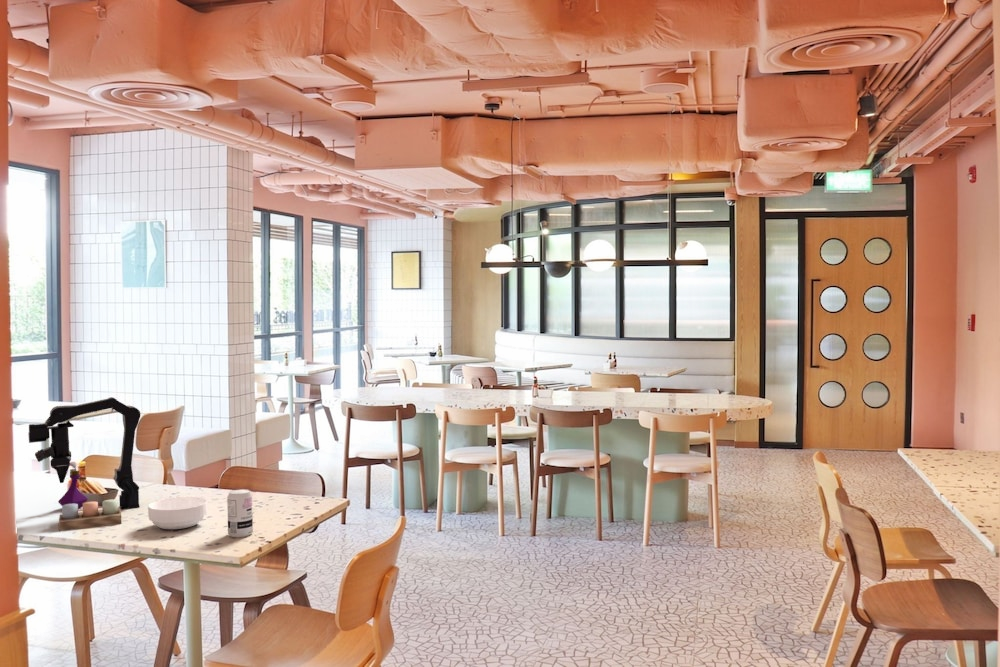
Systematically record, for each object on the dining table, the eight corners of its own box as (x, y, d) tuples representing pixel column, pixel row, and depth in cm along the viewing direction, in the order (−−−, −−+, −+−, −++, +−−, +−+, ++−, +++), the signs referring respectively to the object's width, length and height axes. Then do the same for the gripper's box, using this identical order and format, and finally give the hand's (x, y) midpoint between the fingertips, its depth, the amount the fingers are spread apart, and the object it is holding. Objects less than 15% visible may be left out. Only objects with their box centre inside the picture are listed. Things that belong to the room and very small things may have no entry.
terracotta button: (98, 513, 298) (97, 500, 297) (98, 516, 293) (97, 503, 293) (82, 515, 295) (82, 502, 295) (82, 518, 291) (82, 505, 291)
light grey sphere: (78, 515, 295) (77, 502, 295) (78, 518, 290) (77, 505, 290) (62, 517, 292) (62, 504, 292) (62, 520, 288) (62, 507, 288)
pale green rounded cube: (117, 511, 301) (117, 498, 300) (117, 514, 296) (117, 501, 296) (102, 513, 298) (102, 500, 298) (102, 516, 294) (102, 503, 294)
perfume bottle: (88, 506, 319) (87, 461, 318) (72, 511, 312) (71, 465, 311) (73, 505, 321) (72, 460, 321) (57, 509, 314) (56, 464, 314)
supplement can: (231, 531, 282) (230, 489, 281) (255, 531, 282) (254, 488, 282) (225, 538, 274) (224, 494, 273) (250, 537, 274) (249, 493, 274)
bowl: (142, 525, 291) (142, 501, 291) (198, 516, 303) (198, 494, 303) (156, 537, 276) (155, 512, 275) (214, 527, 287) (213, 504, 287)
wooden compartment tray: (120, 516, 304) (120, 508, 304) (121, 523, 294) (121, 515, 293) (60, 522, 295) (59, 514, 295) (59, 530, 284) (58, 522, 284)
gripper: (37, 438, 310) (39, 478, 310) (33, 445, 293) (36, 488, 294) (70, 435, 315) (72, 474, 315) (68, 442, 298) (70, 484, 299)
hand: (62, 480), depth 306 cm, fingers open, 9 cm apart
